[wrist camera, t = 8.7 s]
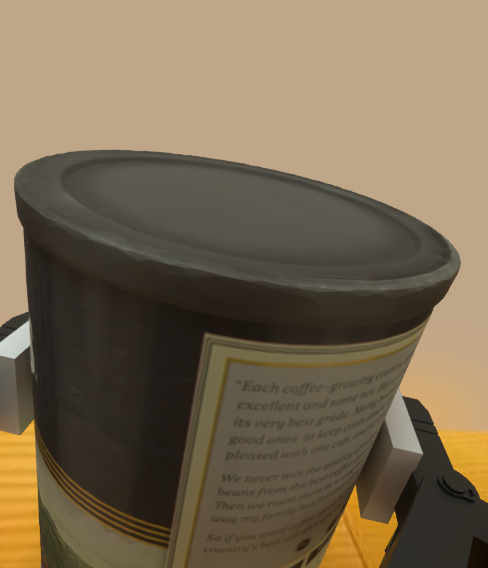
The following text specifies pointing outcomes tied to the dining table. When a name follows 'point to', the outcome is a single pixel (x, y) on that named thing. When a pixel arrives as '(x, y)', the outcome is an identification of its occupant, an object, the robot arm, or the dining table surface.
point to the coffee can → (210, 354)
